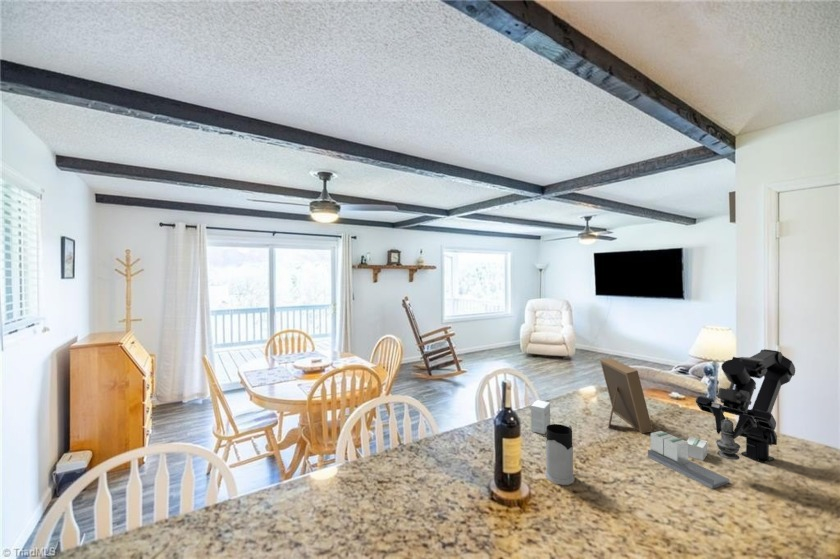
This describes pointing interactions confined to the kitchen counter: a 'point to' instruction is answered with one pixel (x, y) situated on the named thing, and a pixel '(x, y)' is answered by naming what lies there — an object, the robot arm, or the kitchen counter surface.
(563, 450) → the glass holder
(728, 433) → the dark grey tall piece
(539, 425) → the small box
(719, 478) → the rail
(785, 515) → the kitchen counter surface
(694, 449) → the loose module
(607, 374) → the photo frame
